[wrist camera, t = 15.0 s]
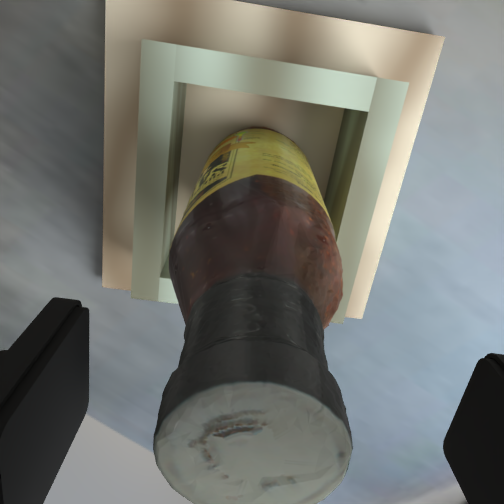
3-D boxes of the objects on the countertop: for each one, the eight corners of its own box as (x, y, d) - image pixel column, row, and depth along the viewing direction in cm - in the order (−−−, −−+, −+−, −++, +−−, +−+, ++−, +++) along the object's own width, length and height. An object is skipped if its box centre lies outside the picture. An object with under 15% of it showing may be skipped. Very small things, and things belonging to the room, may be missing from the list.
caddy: (436, 37, 25) (492, 32, 19) (357, 309, 32) (381, 364, 26) (112, -18, 23) (69, -42, 18) (107, 278, 31) (75, 329, 25)
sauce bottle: (215, 112, 25) (101, 261, 7) (321, 136, 25) (478, 332, 7) (197, 218, 28) (80, 528, 9) (293, 238, 28) (358, 569, 10)
